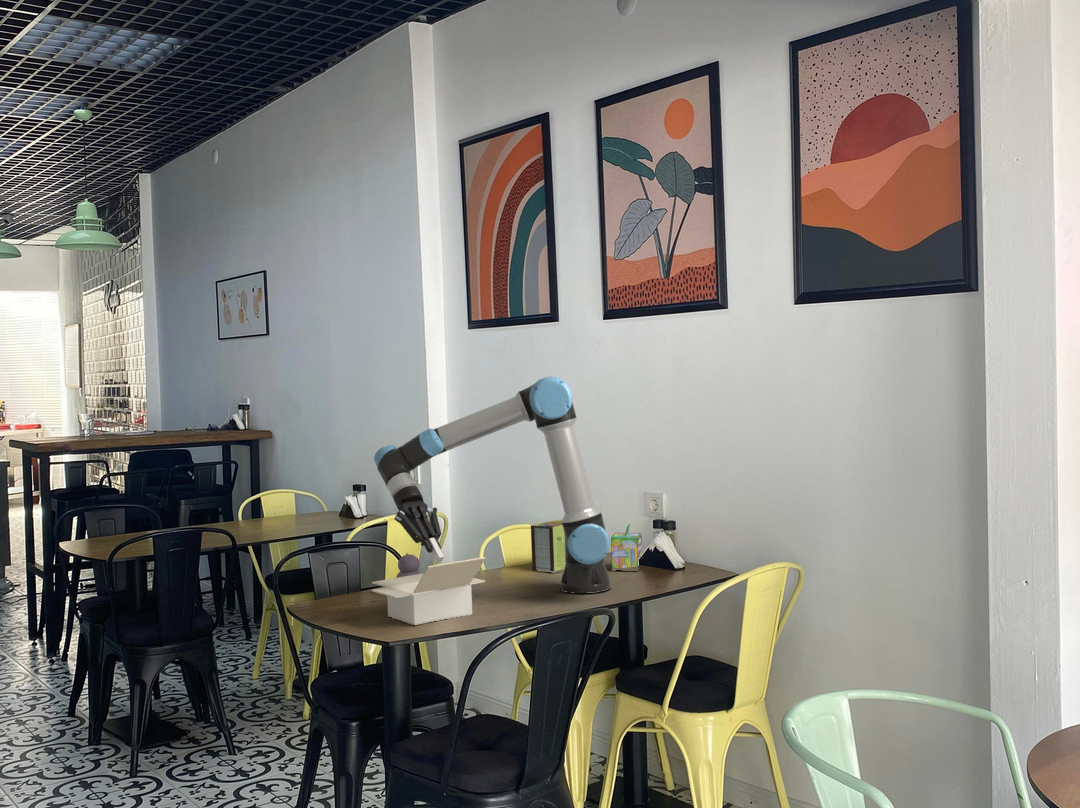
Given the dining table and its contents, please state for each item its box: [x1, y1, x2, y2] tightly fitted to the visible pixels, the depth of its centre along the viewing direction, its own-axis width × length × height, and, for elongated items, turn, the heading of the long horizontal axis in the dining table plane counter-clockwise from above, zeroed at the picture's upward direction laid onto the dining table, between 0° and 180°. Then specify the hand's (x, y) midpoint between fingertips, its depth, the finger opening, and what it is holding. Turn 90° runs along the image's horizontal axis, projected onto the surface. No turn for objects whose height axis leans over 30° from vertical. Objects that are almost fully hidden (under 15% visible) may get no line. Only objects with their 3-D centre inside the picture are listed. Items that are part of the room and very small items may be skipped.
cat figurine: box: [395, 552, 422, 578], centre depth 291 cm, size 8×8×12 cm
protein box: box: [530, 518, 565, 571], centre depth 324 cm, size 10×15×16 cm
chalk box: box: [610, 523, 643, 569], centre depth 318 cm, size 9×9×15 cm
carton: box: [371, 572, 486, 625], centre depth 265 cm, size 23×28×8 cm
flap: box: [413, 556, 486, 594], centre depth 253 cm, size 11×18×1 cm
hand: (439, 560), depth 255 cm, fingers closed
